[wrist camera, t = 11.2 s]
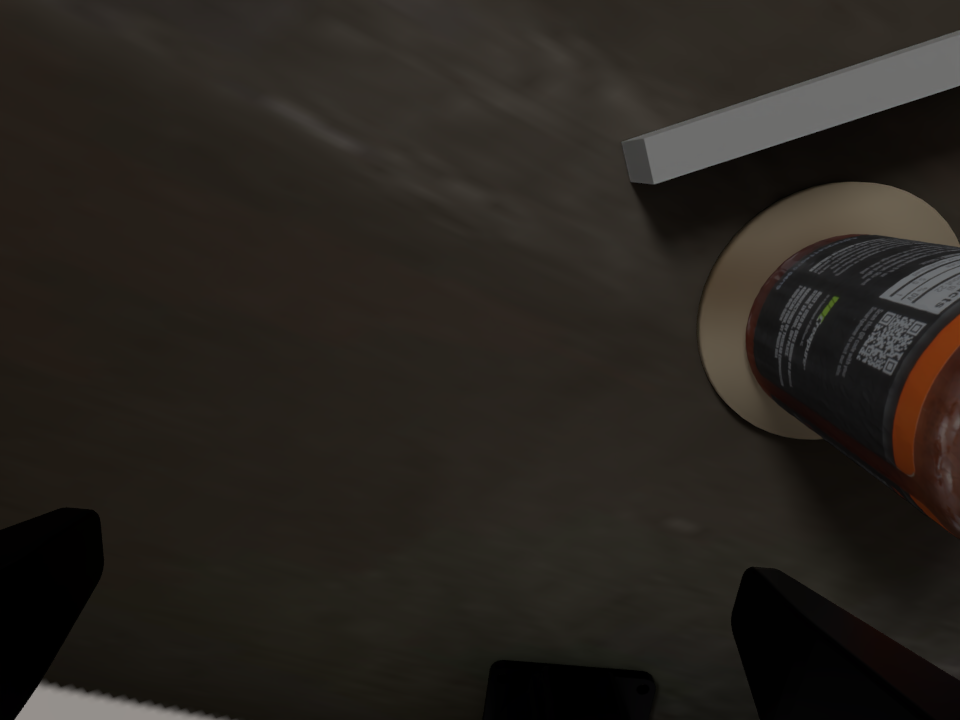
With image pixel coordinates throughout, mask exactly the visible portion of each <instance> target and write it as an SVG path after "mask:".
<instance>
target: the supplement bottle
mask: <svg viewBox="0 0 960 720" xmlns="http://www.w3.org/2000/svg"><path fill="white" fill-rule="evenodd" d="M745 342H746V352H747V358H748V361H749V364H750V367H751V370H752V373H753V375H754V376H755V378H756V380H757V382H758V383H759V385H760V387H761V388H762V390H763V391H764V392H765V393H766V394H767V395H768V396H769V397H770V398H771V399H772V400H774V401H775V402H776V403H777V404H778V405H779V406H780V407H782V408H783V409H784V410H785V411H787V412H788V413H789V414H790V415H792V416H794V417H795V418H796V419H798V420H799V421H800V422H801V423H803V424H804V425H806V426H807V427H808V428H809V429H811V430H812V431H814V432H815V433H816V434H818V435H819V436H821V437H822V438H823V439H825V440H826V441H827V442H829V443H830V444H831V445H833V446H834V447H835V448H836V449H838V450H839V451H841V452H842V453H843V454H844V455H846V456H847V457H849V458H850V459H851V460H853V461H854V462H855V463H857V464H858V465H859V466H861V467H862V468H864V469H865V470H866V471H867V472H869V473H870V474H871V475H873V476H874V477H876V478H877V479H878V480H880V481H881V482H882V483H884V484H885V485H886V486H888V487H889V488H890V489H892V490H893V491H894V492H896V493H897V494H898V495H899V496H901V497H902V498H903V499H905V500H906V501H908V502H909V503H910V504H912V505H913V506H914V507H915V508H917V509H918V510H919V511H920V512H922V513H923V514H924V515H926V516H928V517H930V518H931V519H933V520H934V521H935V522H937V523H938V524H939V525H941V526H942V527H943V528H945V529H946V530H947V531H949V532H950V533H951V534H953V535H954V536H955V537H957V538H958V539H960V247H955V246H948V245H942V244H934V243H927V242H921V241H915V240H908V239H900V238H894V237H888V236H881V235H869V234H848V235H841V236H835V237H831V238H828V239H824V240H821V241H818V242H816V243H814V244H812V245H809V246H807V247H805V248H803V249H801V250H800V251H798V252H797V253H795V254H793V255H792V256H791V257H789V258H788V259H787V260H785V261H784V262H783V263H782V264H781V265H780V266H779V267H778V268H777V269H776V270H775V271H774V272H773V274H772V275H771V276H770V277H769V278H768V279H767V281H766V282H765V283H764V285H763V286H762V287H761V289H760V291H759V293H758V295H757V297H756V298H755V300H754V303H753V305H752V308H751V310H750V314H749V317H748V323H747V326H746V340H745Z"/></svg>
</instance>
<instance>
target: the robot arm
mask: <svg viewBox="0 0 960 720" xmlns="http://www.w3.org/2000/svg"><path fill="white" fill-rule="evenodd" d="M103 566H104V556H103V544H102V533H101V522H100V517H99V515H98V514H97V513H96V512H95V511H94V510H90V509H79V508H67V507H66V508H60V509H57V510H54V511H52V512H49V513H46V514H43V515H41V516H38V517H35V518H32V519H30V520H27V521H24V522H21V523H19V524H16V525H13V526H10V527H7V528H5V529H2V530H0V720H14V719H15V718H16V717H17V715H18V714H19V712H20V711H21V710H22V708H23V707H24V705H25V704H26V702H27V701H28V700H29V698H30V697H31V695H32V694H33V692H34V691H35V689H36V688H37V686H38V685H39V683H40V681H41V680H42V678H43V677H44V675H45V673H46V672H47V670H48V669H49V667H50V665H51V663H52V662H53V660H54V658H55V656H56V655H57V653H58V651H59V649H60V648H61V646H62V644H63V643H64V641H65V639H66V637H67V636H68V634H69V632H70V630H71V629H72V627H73V625H74V624H75V622H76V620H77V618H78V617H79V615H80V613H81V611H82V610H83V608H84V606H85V604H86V603H87V601H88V599H89V598H90V596H91V594H92V592H93V591H94V589H95V587H96V585H97V584H98V582H99V580H100V577H101V575H102V572H103ZM731 626H732V632H733V635H734V639H735V642H736V645H737V648H738V651H739V654H740V657H741V661H742V664H743V667H744V670H745V673H746V676H747V680H748V683H749V686H750V689H751V692H752V695H753V699H754V702H755V705H756V708H757V711H758V714H759V718H760V720H960V681H959V680H958V679H956V678H954V677H953V676H951V675H949V674H948V673H946V672H945V671H943V670H941V669H940V668H938V667H936V666H935V665H933V664H931V663H930V662H928V661H927V660H925V659H923V658H922V657H920V656H918V655H917V654H915V653H914V652H912V651H910V650H909V649H907V648H905V647H904V646H902V645H901V644H899V643H897V642H896V641H894V640H892V639H891V638H889V637H888V636H886V635H884V634H883V633H881V632H879V631H878V630H876V629H874V628H873V627H871V626H870V625H868V624H866V623H865V622H863V621H861V620H860V619H858V618H857V617H855V616H853V615H852V614H850V613H848V612H847V611H845V610H844V609H842V608H840V607H839V606H837V605H835V604H834V603H832V602H831V601H829V600H827V599H826V598H824V597H822V596H821V595H819V594H817V593H816V592H814V591H813V590H811V589H809V588H808V587H806V586H804V585H803V584H801V583H800V582H798V581H796V580H795V579H793V578H791V577H790V576H788V575H787V574H785V573H783V572H782V571H780V570H777V569H773V568H761V567H750V568H748V569H746V571H745V572H744V574H743V576H742V579H741V583H740V586H739V590H738V593H737V597H736V600H735V604H734V607H733V611H732V616H731ZM502 673H505V674H506V675H503V676H501V675H499V674H502ZM642 684H645V685H643V686H639V685H642ZM654 694H655V684H654V681H653V678H652V676H651V675H650V674H649V673H647V672H644V671H634V670H621V669H609V668H596V667H583V666H571V665H558V664H545V663H533V662H520V661H507V660H501V661H497V662H495V663H494V664H493V665H491V668H490V671H489V678H488V685H487V692H486V699H485V706H484V712H483V719H482V720H648V718H649V714H650V710H651V706H652V702H653V698H654Z"/></svg>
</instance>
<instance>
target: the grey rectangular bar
mask: <svg viewBox="0 0 960 720" xmlns="http://www.w3.org/2000/svg"><path fill="white" fill-rule="evenodd" d="M957 86H960V30H959V31H956V32H953V33H950V34H947V35H944V36H941V37H938V38H935V39H932V40H929V41H926V42H923V43H920V44H917V45H914V46H910V47H907V48H904V49H901V50H898V51H895V52H892V53H889V54H886V55H883V56H880V57H877V58H874V59H871V60H868V61H865V62H862V63H859V64H856V65H853V66H850V67H847V68H844V69H841V70H838V71H835V72H832V73H829V74H826V75H823V76H820V77H817V78H814V79H810V80H807V81H804V82H801V83H798V84H795V85H792V86H789V87H786V88H783V89H780V90H777V91H774V92H771V93H768V94H765V95H762V96H759V97H756V98H753V99H750V100H747V101H744V102H741V103H738V104H735V105H732V106H729V107H726V108H723V109H720V110H717V111H714V112H711V113H707V114H704V115H701V116H698V117H695V118H692V119H689V120H686V121H683V122H680V123H677V124H674V125H671V126H668V127H665V128H662V129H659V130H656V131H653V132H650V133H647V134H644V135H641V136H638V137H635V138H632V139H629V140H626V141H623V142H621V143H622V148H623V152H624V156H625V160H626V165H627V169H628V173H629V178H630V182H636V183H645V184H657V183H660V182H663V181H666V180H669V179H673V178H676V177H679V176H682V175H685V174H688V173H691V172H694V171H697V170H700V169H704V168H707V167H710V166H713V165H716V164H719V163H722V162H725V161H728V160H731V159H734V158H738V157H741V156H744V155H747V154H750V153H753V152H756V151H759V150H762V149H765V148H769V147H772V146H775V145H778V144H781V143H784V142H787V141H790V140H793V139H796V138H800V137H803V136H806V135H809V134H812V133H815V132H818V131H821V130H824V129H827V128H830V127H834V126H837V125H840V124H843V123H846V122H849V121H852V120H855V119H858V118H861V117H865V116H868V115H871V114H874V113H877V112H880V111H883V110H886V109H889V108H892V107H895V106H899V105H902V104H905V103H908V102H911V101H914V100H917V99H920V98H923V97H926V96H930V95H933V94H936V93H939V92H942V91H945V90H948V89H951V88H954V87H957Z"/></svg>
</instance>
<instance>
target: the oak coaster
mask: <svg viewBox="0 0 960 720" xmlns="http://www.w3.org/2000/svg"><path fill="white" fill-rule="evenodd" d="M848 234H869V235H881V236H888V237H894V238H900V239H908V240H915V241H921V242H927V243H934V244H942V245H948V246H955V247H960V244H959V242H958V240H957V238H956V235H955V234H954V232H953V231H952V229H951V228H950V226H949V225H948V223H947V222H946V221H945V220H944V219H943V217H942V216H941V215H940V214H939V213H938V212H937V211H936V210H935V209H934V208H932V207H931V206H930V205H928V204H927V203H926V202H925V201H923V200H922V199H920V198H918V197H916V196H914V195H913V194H911V193H909V192H907V191H904V190H901V189H898V188H895V187H893V186H888V185H883V184H878V183H867V182H836V183H827V184H822V185H818V186H813V187H809V188H807V189H804V190H801V191H798V192H795V193H793V194H791V195H789V196H787V197H785V198H783V199H781V200H779V201H777V202H775V203H773V204H772V205H770V206H769V207H767V208H766V209H764V210H763V211H761V212H760V213H758V214H757V215H756V216H755V217H754V218H752V219H751V220H750V221H749V222H748V223H746V224H745V225H744V226H743V227H742V228H741V229H740V231H739V232H738V233H737V234H736V235H735V236H734V237H733V238H732V239H731V240H730V242H729V243H728V244H727V246H726V247H725V248H724V250H723V251H722V252H721V254H720V256H719V257H718V259H717V261H716V262H715V264H714V266H713V268H712V269H711V272H710V274H709V276H708V279H707V281H706V283H705V286H704V289H703V292H702V296H701V299H700V303H699V309H698V316H697V342H698V351H699V354H700V358H701V362H702V366H703V368H704V370H705V373H706V375H707V377H708V379H709V381H710V383H711V384H712V386H713V388H714V389H715V391H716V392H717V393H718V394H719V396H720V397H721V398H722V399H723V400H724V402H725V403H726V404H727V405H729V406H730V407H731V408H732V409H733V410H734V411H735V412H736V413H737V414H739V415H740V416H741V417H742V418H743V419H745V420H747V421H748V422H750V423H751V424H753V425H754V426H756V427H759V428H761V429H763V430H765V431H767V432H770V433H773V434H777V435H780V436H783V437H789V438H795V439H811V440H816V439H823V438H822V437H821V436H819V435H818V434H816V433H815V432H814V431H812V430H811V429H809V428H808V427H807V426H806V425H804V424H803V423H801V422H800V421H799V420H798V419H796V418H795V417H794V416H792V415H790V414H789V413H788V412H787V411H785V410H784V409H783V408H782V407H780V406H779V405H778V404H777V403H776V402H775V401H774V400H772V399H771V398H770V397H769V396H768V395H767V394H766V393H765V392H764V391H763V390H762V388H761V387H760V385H759V383H758V382H757V380H756V378H755V376H754V375H753V373H752V370H751V367H750V364H749V361H748V358H747V352H746V342H745V340H746V326H747V323H748V317H749V314H750V310H751V308H752V305H753V303H754V300H755V298H756V297H757V295H758V293H759V291H760V289H761V287H762V286H763V285H764V283H765V282H766V281H767V279H768V278H769V277H770V276H771V275H772V274H773V272H774V271H775V270H776V269H777V268H778V267H779V266H780V265H781V264H782V263H783V262H784V261H785V260H787V259H788V258H789V257H791V256H792V255H793V254H795V253H797V252H798V251H800V250H801V249H803V248H805V247H807V246H809V245H812V244H814V243H816V242H818V241H821V240H824V239H828V238H831V237H835V236H841V235H848Z"/></svg>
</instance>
